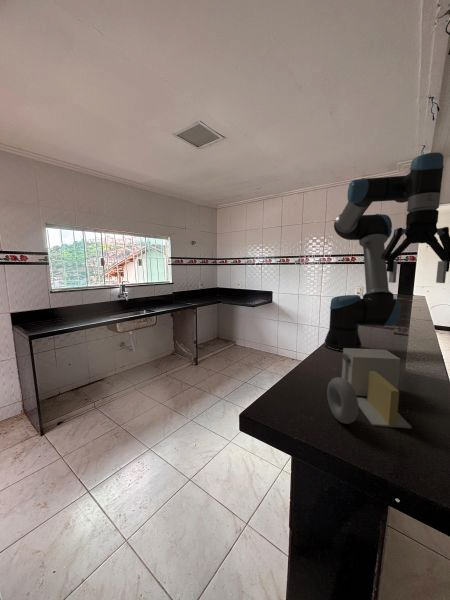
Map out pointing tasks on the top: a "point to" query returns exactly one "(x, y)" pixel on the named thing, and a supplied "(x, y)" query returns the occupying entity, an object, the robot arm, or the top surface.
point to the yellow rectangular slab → (383, 397)
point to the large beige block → (369, 367)
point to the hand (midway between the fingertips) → (415, 282)
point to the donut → (342, 400)
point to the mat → (375, 416)
